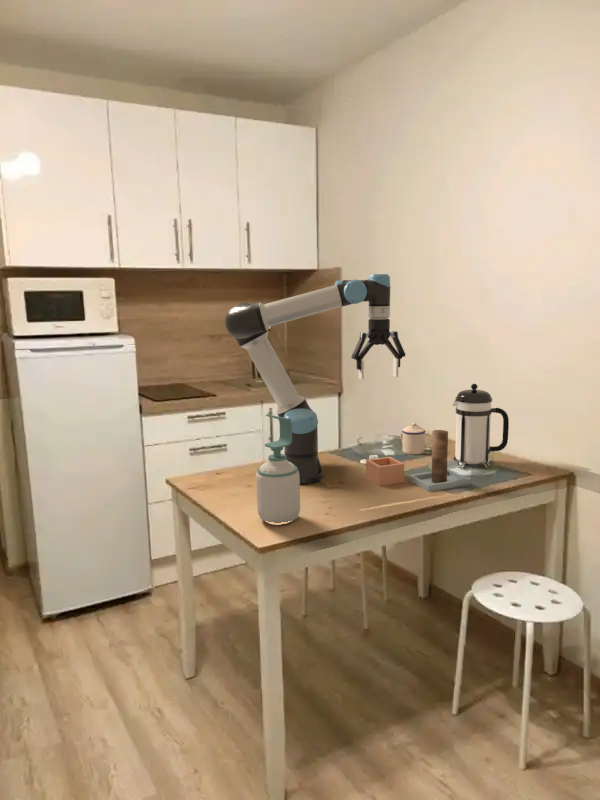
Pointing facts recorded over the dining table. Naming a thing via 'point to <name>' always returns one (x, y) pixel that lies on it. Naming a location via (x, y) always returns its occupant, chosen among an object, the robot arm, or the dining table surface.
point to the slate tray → (426, 483)
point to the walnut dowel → (439, 456)
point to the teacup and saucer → (369, 458)
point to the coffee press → (476, 426)
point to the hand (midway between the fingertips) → (378, 377)
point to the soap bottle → (278, 481)
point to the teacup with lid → (413, 439)
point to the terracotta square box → (385, 471)
